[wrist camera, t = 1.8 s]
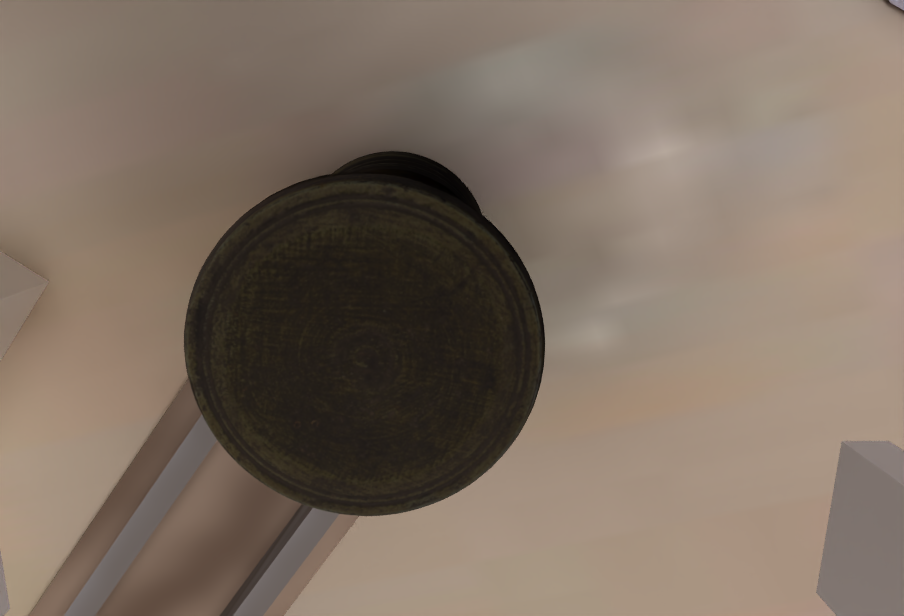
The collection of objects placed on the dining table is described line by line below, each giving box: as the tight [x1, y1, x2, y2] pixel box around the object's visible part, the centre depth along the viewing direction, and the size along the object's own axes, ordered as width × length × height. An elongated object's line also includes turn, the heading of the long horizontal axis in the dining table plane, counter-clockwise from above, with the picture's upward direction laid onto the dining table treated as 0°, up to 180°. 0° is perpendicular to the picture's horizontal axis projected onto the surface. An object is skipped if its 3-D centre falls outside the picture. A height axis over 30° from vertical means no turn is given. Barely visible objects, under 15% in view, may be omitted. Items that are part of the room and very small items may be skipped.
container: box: [184, 151, 545, 516], centre depth 24 cm, size 9×9×18 cm
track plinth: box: [29, 378, 359, 616], centre depth 34 cm, size 11×24×4 cm, turn 144°
